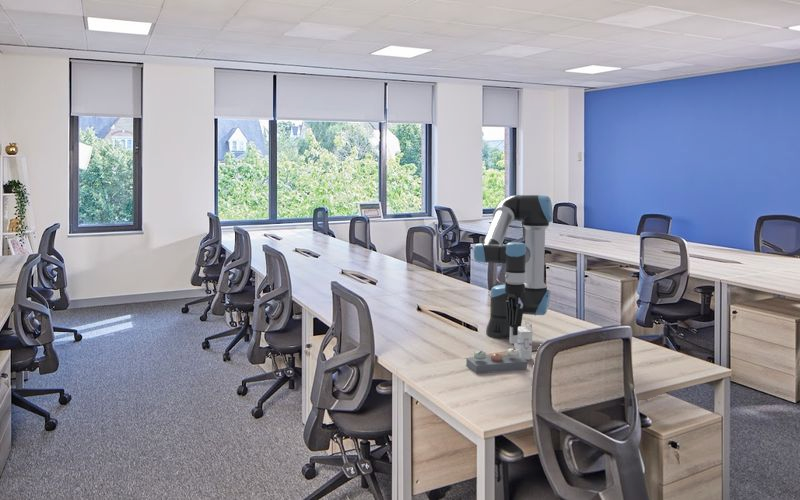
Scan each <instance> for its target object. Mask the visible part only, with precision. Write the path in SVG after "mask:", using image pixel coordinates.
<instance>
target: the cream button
mask: <svg viewBox="0 0 800 500" xmlns="http://www.w3.org/2000/svg"><path fill="white" fill-rule="evenodd" d="M507 355H508V356H511V357H517V356H519V350H518V349H514V348H508V349H507Z"/></svg>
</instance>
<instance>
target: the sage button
mask: <svg viewBox="0 0 800 500" xmlns="http://www.w3.org/2000/svg"><path fill="white" fill-rule="evenodd" d="M486 355H487V354H486V352H485V351H483V350H478V351H473V358H475V359H479V360H482V359H485V358H486V357H487V356H486Z"/></svg>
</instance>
